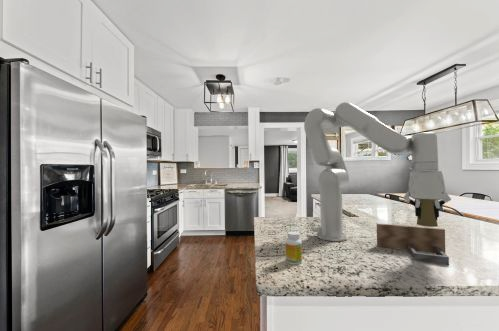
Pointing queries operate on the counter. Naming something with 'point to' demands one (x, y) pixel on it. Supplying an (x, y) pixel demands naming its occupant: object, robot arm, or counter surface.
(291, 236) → the supplement bottle
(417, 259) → the cleat board
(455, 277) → the counter surface
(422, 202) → the olive tall block
